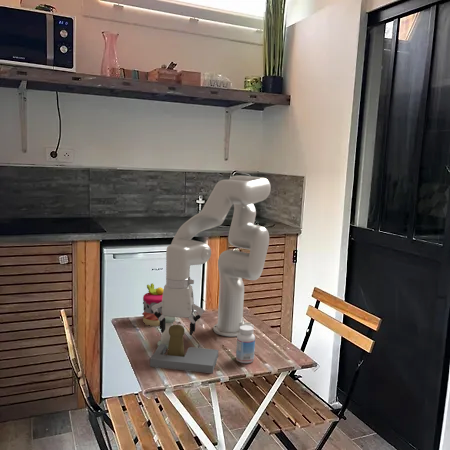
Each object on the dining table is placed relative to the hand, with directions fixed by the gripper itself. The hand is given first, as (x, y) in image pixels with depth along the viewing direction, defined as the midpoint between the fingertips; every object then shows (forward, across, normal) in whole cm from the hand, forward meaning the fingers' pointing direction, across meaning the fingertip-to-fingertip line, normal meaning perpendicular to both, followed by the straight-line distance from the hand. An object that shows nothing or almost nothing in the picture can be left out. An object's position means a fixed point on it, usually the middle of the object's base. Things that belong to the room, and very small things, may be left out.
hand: (177, 332), depth 151 cm
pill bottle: (+9, -22, -3) cm, 24 cm away
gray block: (+8, -3, +3) cm, 10 cm away
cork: (+9, 0, +1) cm, 9 cm away
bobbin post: (+9, +6, -8) cm, 13 cm away
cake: (+10, +16, -29) cm, 34 cm away
